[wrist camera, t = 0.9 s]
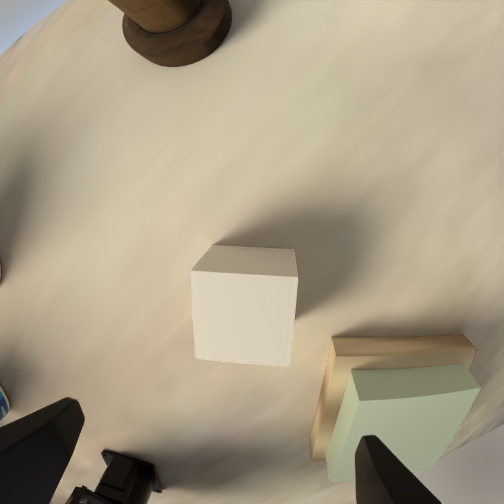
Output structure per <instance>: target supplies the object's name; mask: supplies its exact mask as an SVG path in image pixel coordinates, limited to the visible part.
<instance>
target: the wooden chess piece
mask: <svg viewBox="0 0 504 504" xmlns="http://www.w3.org/2000/svg"><path fill="white" fill-rule="evenodd" d="M108 1H110V2H111V3H112V4H114V5H115V6H116V7H118V8H119V9H120V10H121V11H123V12H124V17H123V24H122V28H123V34H124V37H125V39H126V41H127V43H128V44H129V45H130V47H131V48H132V49H133V50H135V51H136V52H137V53H139V54H140V55H142V56H143V57H144V58H146V59H147V60H149V61H151V62H152V63H155V64H157V65H161V66H166V67H179V66H185V65H189V64H192V63H195V62H197V61H199V60H201V59H203V58H205V57H206V56H208V55H209V54H211V53H212V52H213V51H214V50H215V49H216V48H217V47H218V46H219V45H220V44H221V43H222V42H223V40H224V39H225V37H226V36H227V34H228V32H229V29H230V26H231V21H232V12H231V8H230V4H229V2H228V0H108Z"/></svg>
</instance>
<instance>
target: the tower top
mask: <svg viewBox="0 0 504 504" xmlns="http://www.w3.org/2000/svg"><path fill="white" fill-rule="evenodd" d="M480 389H481V386H480V385H479V383H478V382H477V381H476V379H475V378H474V377H473V375H472V374H471V373H470V371H469V370H468V369H467V367H466V366H465V365H464V363H463V364H454V365H444V366H433V367H420V368H404V369H382V370H350V374H349V378H348V382H347V386H346V389H345V393H344V396H343V400H342V404H341V407H340V410H339V414H338V417H337V420H336V424H335V427H334V430H333V433H332V436H331V439H330V442H329V445H328V448H327V451H326V463H327V473H328V482H344V481H356V480H355V451H356V449H357V446H358V444H359V442H360V439H361V437H362V436H364V435H376V436H377V437H378V438H379V439H380V440H381V441H382V442H383V443H384V444H385V445H386V446H387V447H388V448H389V449H390V450H391V452H392V453H393V454H394V455H395V456H396V457H397V458H398V459H399V460H400V461H401V462H402V463H403V464H404V465H405V466H406V467H407V468H408V469H409V470H410V471H411V472H412V473H415V472H420V471H425V470H430V469H433V468H434V467H435V465H436V464H437V462H438V461H439V460H440V458H441V457H442V455H443V454H444V452H445V451H446V449H447V448H448V446H449V444H450V443H451V441H452V440H453V438H454V436H455V435H456V433H457V432H458V430H459V428H460V427H461V425H462V423H463V421H464V420H465V418H466V416H467V414H468V412H469V411H470V409H471V407H472V405H473V403H474V401H475V399H476V397H477V395H478V393H479V391H480Z"/></svg>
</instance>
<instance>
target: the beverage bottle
mask: <svg viewBox="0 0 504 504" xmlns="http://www.w3.org/2000/svg"><path fill="white" fill-rule="evenodd" d="M9 409H10V405H9V401H8V399H7V396H6V394H5V392H4V391H3V389H2V388H1V386H0V420H1V419H2V418H3V417H4V416H5V415H6V414H7V413H8V412H9Z"/></svg>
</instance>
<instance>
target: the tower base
mask: <svg viewBox="0 0 504 504" xmlns="http://www.w3.org/2000/svg"><path fill="white" fill-rule="evenodd" d="M476 351H477V349H476V348H475V347H474V346H473V345H472V344H471V342H470V341H469V340H468V339H467V338H466V337H465V336H464V335H463V334H458V335H441V336H416V337H331V341H330V347H329V352H328V358H327V363H326V368H325V374H324V379H323V383H322V388H321V393H320V398H319V402H318V407H317V411H316V416H315V420H314V424H313V428H312V432H311V436H310V454H311V460H326V451H327V448H328V445H329V442H330V439H331V436H332V433H333V430H334V427H335V424H336V420H337V417H338V414H339V410H340V407H341V404H342V400H343V396H344V393H345V389H346V386H347V382H348V378H349V374H350V370H382V369H404V368H420V367H433V366H444V365H454V364H463V363H464V365H465V366H466V367H467V369H468V370H469V369H470V366H471V364H472V361H473V359H474V356H475V354H476Z"/></svg>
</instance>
